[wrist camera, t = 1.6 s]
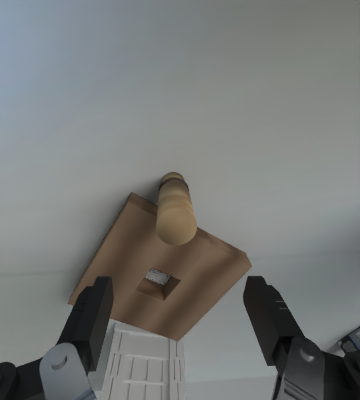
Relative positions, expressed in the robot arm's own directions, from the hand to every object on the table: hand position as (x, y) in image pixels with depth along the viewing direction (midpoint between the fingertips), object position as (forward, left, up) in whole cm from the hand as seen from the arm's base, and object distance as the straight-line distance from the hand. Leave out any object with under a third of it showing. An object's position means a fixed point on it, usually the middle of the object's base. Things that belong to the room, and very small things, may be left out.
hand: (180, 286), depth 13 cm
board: (-6, +14, -17) cm, 23 cm away
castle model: (-14, +34, -18) cm, 41 cm away
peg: (0, 0, -17) cm, 17 cm away
